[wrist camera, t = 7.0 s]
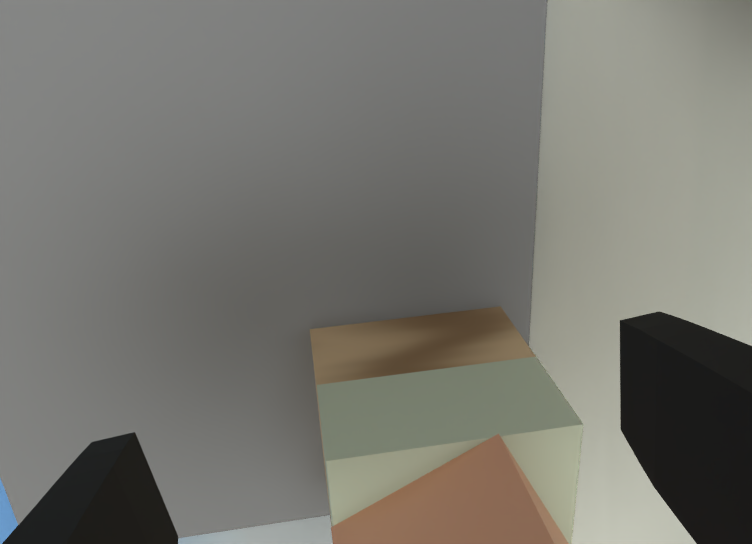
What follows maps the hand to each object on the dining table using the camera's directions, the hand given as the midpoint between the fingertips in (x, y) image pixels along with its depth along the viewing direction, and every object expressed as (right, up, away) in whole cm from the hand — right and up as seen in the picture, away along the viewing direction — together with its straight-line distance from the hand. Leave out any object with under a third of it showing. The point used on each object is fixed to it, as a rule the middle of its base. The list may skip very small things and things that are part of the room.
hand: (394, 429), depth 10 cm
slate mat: (-4, +2, +10) cm, 11 cm away
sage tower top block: (+1, -3, +9) cm, 10 cm away
